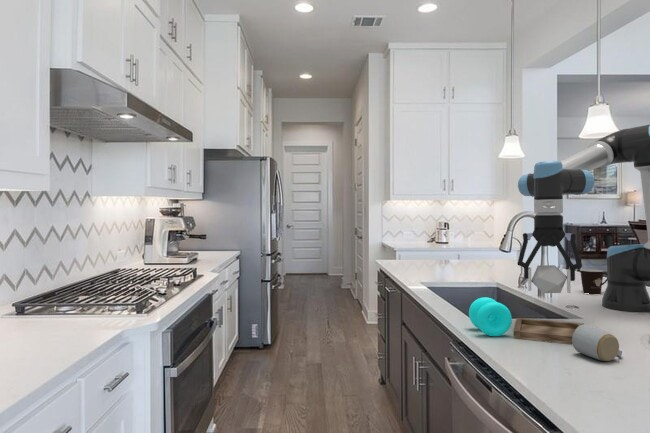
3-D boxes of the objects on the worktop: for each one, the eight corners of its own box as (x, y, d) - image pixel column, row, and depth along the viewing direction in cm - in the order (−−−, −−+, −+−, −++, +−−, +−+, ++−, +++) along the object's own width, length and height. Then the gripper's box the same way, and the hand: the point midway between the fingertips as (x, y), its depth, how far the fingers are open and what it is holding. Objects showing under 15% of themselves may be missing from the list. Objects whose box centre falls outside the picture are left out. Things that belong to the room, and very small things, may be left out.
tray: (583, 330, 130) (583, 323, 130) (589, 346, 116) (589, 338, 116) (516, 324, 139) (516, 317, 139) (513, 338, 124) (513, 330, 124)
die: (564, 298, 121) (576, 269, 124) (535, 282, 122) (547, 254, 125) (550, 303, 129) (561, 275, 132) (522, 288, 130) (534, 261, 133)
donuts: (478, 337, 125) (478, 303, 125) (467, 328, 135) (467, 296, 135) (513, 337, 125) (513, 302, 125) (500, 328, 135) (499, 296, 135)
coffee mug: (583, 295, 184) (583, 271, 183) (577, 291, 192) (577, 268, 192) (615, 296, 180) (614, 272, 180) (608, 292, 188) (607, 269, 188)
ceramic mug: (598, 364, 102) (599, 333, 102) (571, 354, 110) (571, 324, 110) (631, 360, 105) (631, 329, 105) (602, 350, 113) (602, 322, 112)
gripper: (506, 215, 128) (507, 290, 129) (594, 214, 119) (594, 296, 119) (508, 214, 135) (508, 286, 135) (591, 213, 125) (591, 291, 126)
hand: (549, 290), depth 127 cm, fingers closed on die, 9 cm apart
